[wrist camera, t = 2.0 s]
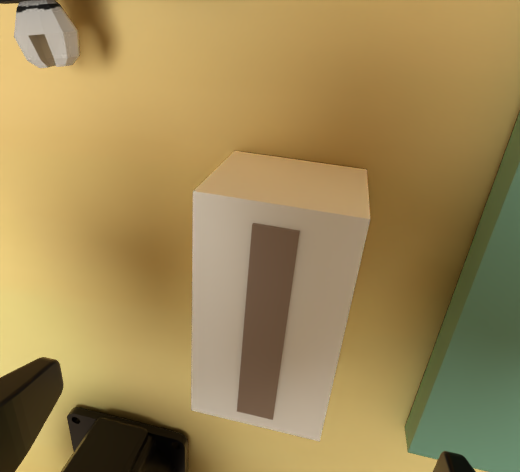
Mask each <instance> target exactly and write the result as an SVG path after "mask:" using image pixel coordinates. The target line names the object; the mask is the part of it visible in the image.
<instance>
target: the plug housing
mask: <svg viewBox="0 0 520 472" xmlns="http://www.w3.org/2000/svg"><path fill="white" fill-rule="evenodd" d="M369 223H370V206H369V192H368V178H367V169H360V168H353V167H346V166H339V165H332V164H325V163H318V162H311V161H304V160H297V159H290V158H283V157H276V156H269V155H262V154H255V153H247V152H240V151H234V152H233V153H232V154H231V155H230V156H229V157H228V158H226V159H225V160H224V161H223V162H222V163H221V164H220V165H219V166H218V167H217V168H216V169H215V170H214V171H213V172H212V173H211V174H210V175H209V176H208V177H207V178H206V179H205V180H204V181H203V182H202V183H201V184H200V185H199V186H198V187H196V188H195V189H194V190H193V246H192V372H191V410H192V411H196V412H200V413H204V414H208V415H213V416H217V417H221V418H225V419H229V420H233V421H237V422H241V423H246V424H250V425H254V426H258V427H262V428H266V429H270V430H274V431H279V432H283V433H287V434H291V435H295V436H299V437H303V438H307V439H312V440H316V441H320V438H321V434H322V430H323V425H324V421H325V416H326V412H327V408H328V403H329V399H330V394H331V390H332V386H333V381H334V377H335V372H336V368H337V364H338V359H339V355H340V350H341V346H342V342H343V337H344V333H345V329H346V324H347V320H348V315H349V311H350V307H351V302H352V298H353V293H354V289H355V285H356V280H357V276H358V271H359V267H360V263H361V258H362V254H363V249H364V245H365V241H366V236H367V232H368V227H369Z"/></svg>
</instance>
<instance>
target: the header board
mask: <svg viewBox="0 0 520 472" xmlns="http://www.w3.org/2000/svg"><path fill="white" fill-rule="evenodd" d="M405 433H406V441H407V450H408V453H412V454H417V455H421V456H425V457H429V458H433V459H439V457H440V454H441V453H442V452H443V451H448V452H453V453H457V454H461V455H463V456H464V457H465V458H466V459H467V460H468V462H469V463H470V465H471V466H472V468H475V469H479V470H484V471H488V472H520V112H519V115H518V118H517V121H516V123H515V126H514V129H513V132H512V134H511V137H510V140H509V143H508V145H507V148H506V151H505V154H504V156H503V159H502V162H501V165H500V167H499V170H498V173H497V176H496V178H495V181H494V184H493V187H492V189H491V192H490V195H489V197H488V200H487V203H486V206H485V208H484V211H483V214H482V217H481V219H480V222H479V225H478V228H477V230H476V233H475V236H474V239H473V241H472V244H471V247H470V250H469V252H468V255H467V258H466V261H465V263H464V266H463V269H462V272H461V274H460V277H459V280H458V283H457V285H456V288H455V291H454V294H453V296H452V299H451V302H450V305H449V307H448V310H447V313H446V316H445V318H444V321H443V324H442V327H441V329H440V332H439V335H438V338H437V340H436V343H435V346H434V349H433V351H432V354H431V357H430V360H429V362H428V365H427V368H426V371H425V373H424V376H423V379H422V382H421V384H420V387H419V390H418V393H417V395H416V398H415V401H414V404H413V406H412V409H411V412H410V415H409V417H408V420H407V423H406V426H405Z"/></svg>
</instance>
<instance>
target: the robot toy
mask: <svg viewBox="0 0 520 472" xmlns="http://www.w3.org/2000/svg"><path fill="white" fill-rule="evenodd" d="M0 3H2V4H9V3H19V5H18V7H17V11H16V22H15V32H14V37H15V39H16V41H17V43H18V45H19V47H20V48H21V50H22V52H23V54H24V56H25V57H26V59H27V61H29V62H30V63H32V64H34V65H35V66H37V67H39V68H46V67H51V66H56V67H60V66H69V65H73V64H74V62H75V61H76V60H77V58H78V57H79V56H80V47H79V33H78V29H77V28H76V27H75V25H74V24H73V22H72V21H71V20H70V18H69V17H68V15H67V14H66V13H65V11H64V10H63V8H62V7H61V6H60V4H58V3H57V2H56V1H55V0H0Z"/></svg>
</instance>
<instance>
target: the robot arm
mask: <svg viewBox="0 0 520 472" xmlns="http://www.w3.org/2000/svg"><path fill="white" fill-rule="evenodd" d="M62 390H63V379H62V373H61V368H60V364H59V362H58V361H57V360H54V359H50V358H46V357H41V358H38V359H36V360H34V361H32V362H30V363H28V364H26V365H24V366H22V367H20V368H18V369H16V370H14V371H12V372H11V373H9V374H7V375H5V376H3V377H1V378H0V472H15V471H16V469H17V468H18V466H19V465H20V464H21V462H22V461H23V459H24V458H25V456H26V454H27V453H28V451H29V450H30V448H31V446H32V445H33V443H34V441H35V439H36V438H37V436H38V434H39V432H40V430H41V429H42V427H43V425H44V423H45V422H46V420H47V418H48V416H49V415H50V413H51V411H52V409H53V407H54V406H55V404H56V402H57V400H58V399H59V397H60V395H61V393H62ZM67 419H68V424H69V429H70V434H71V440H72V445H73V450H74V453H73V454H72V456H71V457H70V459H69V460H68V462H67V463H66V465H65V466H64V468H63V469H62V471H61V472H188V440H187V438H186V437H185V436H184V435H183V434H181V433H178V432H174V431H170V430H166V429H162V428H158V427H154V426H150V425H147V424H143V423H139V422H135V421H131V420H127V419H123V418H119V417H115V416H111V415H107V414H103V413H99V412H95V411H91V410H87V409H83V408H79V407H75V408H73V409H72V410H71V412H70V413H69V414H68V416H67ZM433 472H475V470H474V469H473V468H472V466H471V465H470V463H469V462H468V460H467V459H466V458H465V457H464V456H463V455H461V454H457V453H453V452H448V451H443V452H442V453H441V454H440V457H439V459H438V461H437V463H436V466H435V468H434V470H433Z"/></svg>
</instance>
